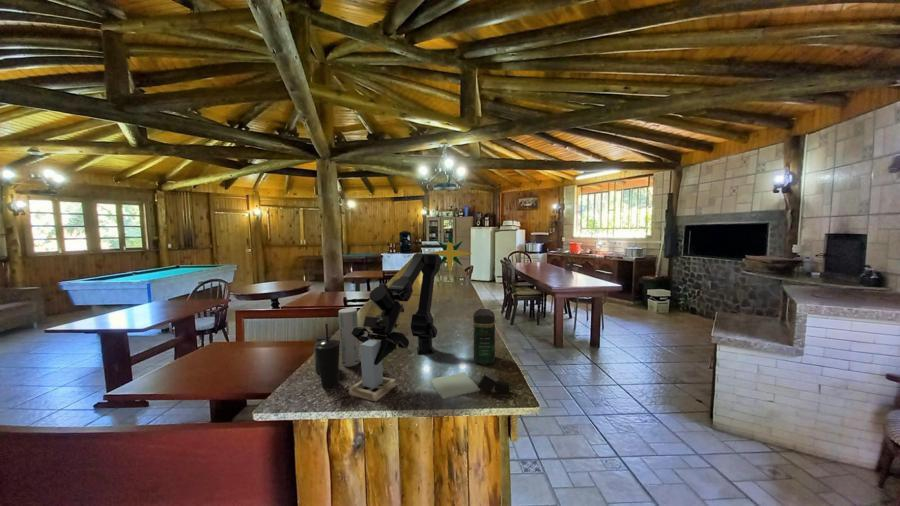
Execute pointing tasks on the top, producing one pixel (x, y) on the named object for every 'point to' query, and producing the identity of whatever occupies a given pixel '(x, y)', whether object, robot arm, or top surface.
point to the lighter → (493, 384)
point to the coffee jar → (484, 336)
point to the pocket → (374, 396)
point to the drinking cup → (328, 360)
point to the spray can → (348, 337)
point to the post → (371, 364)
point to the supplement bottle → (315, 350)
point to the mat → (454, 385)
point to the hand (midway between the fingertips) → (368, 363)
